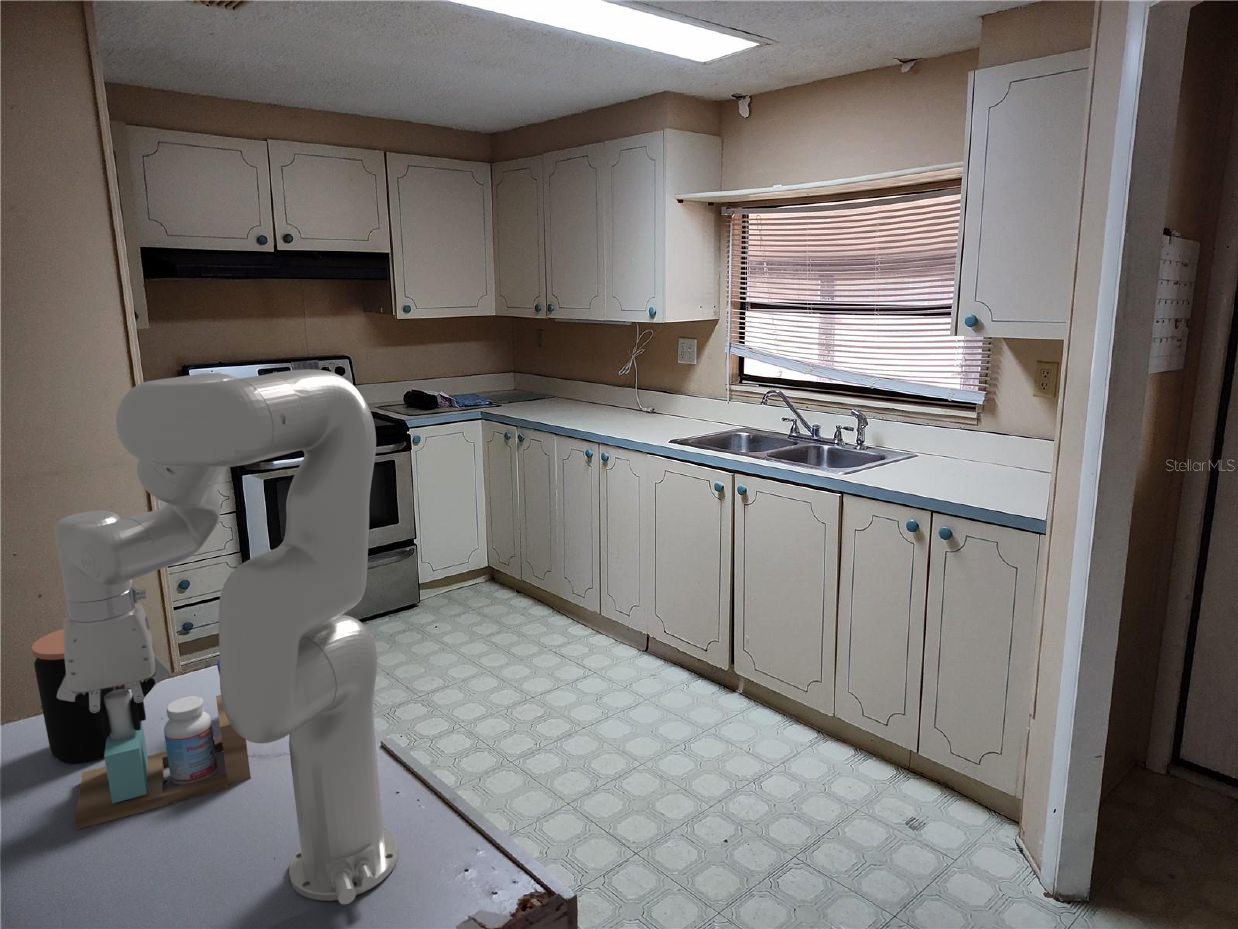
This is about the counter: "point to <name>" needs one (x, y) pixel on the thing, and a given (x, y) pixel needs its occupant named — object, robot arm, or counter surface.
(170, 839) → the counter surface
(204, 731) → the pill bottle
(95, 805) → the wooden tray
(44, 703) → the coffee jar
